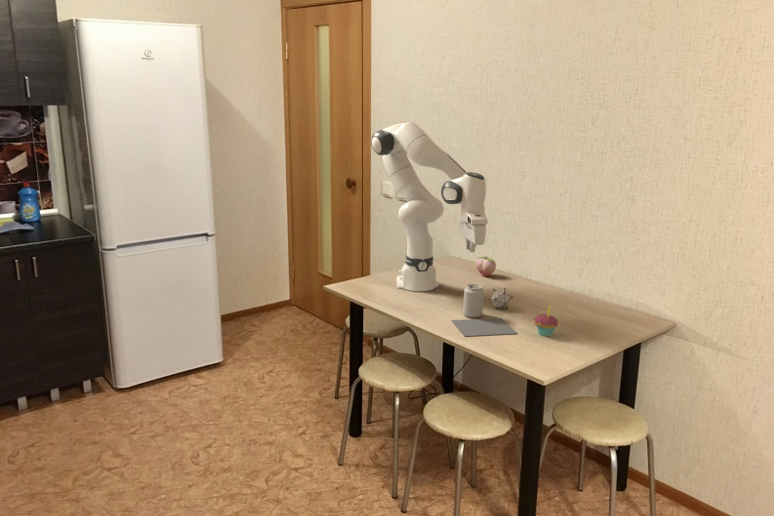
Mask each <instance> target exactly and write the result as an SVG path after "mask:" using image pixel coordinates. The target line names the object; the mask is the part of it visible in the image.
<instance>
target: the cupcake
mask: <svg viewBox="0 0 774 516" xmlns="http://www.w3.org/2000/svg"><path fill="white" fill-rule="evenodd" d="M551 305H552V304H549V305H548V311H547V313H546V314H545V313H542V314H539V315H537V316H536V317H534V318H533V324H534V325H535V326H536V328H537V332H538V334H539V335H540V336H543V337H550V336H552V335H553V333H554V331H555V329H556V328H557V327H558V325H559V323H558V319H557V318H556V317H554V316H553V315H550V314H551V308H552V306H551Z"/></svg>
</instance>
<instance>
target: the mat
mask: <svg viewBox="0 0 774 516" xmlns="http://www.w3.org/2000/svg"><path fill="white" fill-rule="evenodd" d="M450 321H451V323H452V324H453V325H454V326H455V327H456V329H458V331H459V332H460V333H461V334H462V335H463V336H464V337H466V338H467V337H468V338H469V337H484V336H485V337H486V336H487V337H488V336H504V335H505V336H507V335H509V336H510V335H518V334H519V333H518V332H517V331H516V330H515V329H514V328H513V327H512V326H511V325H510V324H509V323H508V322H507V321H506V320H505V319H503V318H502V317H495V318H494V317H493V318H470V319H469V318H468V319H452V320H450Z"/></svg>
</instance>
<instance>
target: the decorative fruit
mask: <svg viewBox="0 0 774 516" xmlns="http://www.w3.org/2000/svg"><path fill="white" fill-rule="evenodd" d="M475 267H476V270H477V271H478V272H479V273H480V274H481V276H484V277H488V276H490V275H492V274H494V272H495V270H496V267H497V263H496V261H495V259H493V258H491V257H488V256H480V257H479V258H478V260H477V261H476V264H475Z"/></svg>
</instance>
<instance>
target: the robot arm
mask: <svg viewBox="0 0 774 516" xmlns="http://www.w3.org/2000/svg"><path fill="white" fill-rule="evenodd" d="M370 141H371V142H370V144H371V147H372V149H373V151H374V152H375V154H377V155H378V156H382V162H383V166H384V169H385V171H386V174H387V176H388V178H389V180H390V182H391V184H392V186H393V188H394V189H395V191H396V193H397V194H398V195H399V196H400V197H402V198H404V199H405V200H406V202H405V203H404V204H403V205H401V206H400V207H399V210H398V213H397V216H398V220H399V222H400V223H401V224H402V225H403V227H404V231H405V234H406V245H407V246H406V255H405V257H404V260H405V261H404V264H403V266H402V267H401V269H398V270H397V272H398V275H397V276H396V289H397V288H398V289H402V290H403V289H404V290H407V291H412V292H429V291H432V290H435V288H438V287H440V284H439V283H438V282H437V268H436V267H434V256H433V248H434V246H433V245H434V239H433V237H432V236H431V235H430V232H429V227H428V226H429V225H428V224H430V223H434V222H436V221H437V220H438V219H440V218H441V217H443V214H444V211H445V210H444V204H443V203H442V201H441V200H440V199H438V198H437V197H436V196H434V195H433V194H432V193H431V192H430V191H429V190H428V189H427V188H426V186H425V185H424V183H422V182H421V180H420V177H419V176H418V174H417V173H416V171H415V169H414V166H413V165H412V163H411V161H410V159H411V160H412V161H413V162H414V163H415V164H416V165H418V166H421V167H426V168H427V167H428V168H433V169H436V170H439V171H441V172H442V173H444V174H446V176H448V177H449V180H447V181H445V182H444V183H443V184H442V185H441V191H440V193H441V194H440V195H441V198H442V200H443V201H444V202H445V203H446V204H449V205H458V204H459V205H461V211H460V220H459V234H460V236H463V238H465V245H466V246H465V249H466V250H467V251H469V252H470V253H475V252H476V247H477V246H481V245H482V246H483V245H484V243H485V240H486V234H487V233H486V232H487V226H486V225H488V222H489V220H488V217H487V215H486V211H485V208H486V207H485V200H486V195H487V194H486V193H487V184H486V183H487V182H486V178H485V177H484V176H483V175H482V174H480V173H477V172H470V171H469V172H467V171H466V170H465V169H464V168H463V167H462V166H461V165H460V164H459V163H458V162H457V161H456V160H455V159H454V158H452V156H450V154H448V153H447V152H446V151H444V150H443V149H442V148H441V147H439V146H438V145H437V144H436V143H435V142H434V141H433V140H432V139H431V138H430V136H429V135H428V133H426V132H425V131H424V130H423V129H422V128H421V127H420V126H419V125H417V123H415V122H413V121H403V122H400V123H397V124H396V123H395V124H392V125H390V126H387V127H386V128H383V129H379V130H377V131H376V132H374V133H373V134H372V136H371V140H370ZM407 155H408V156H407ZM409 158H410V159H409Z"/></svg>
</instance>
